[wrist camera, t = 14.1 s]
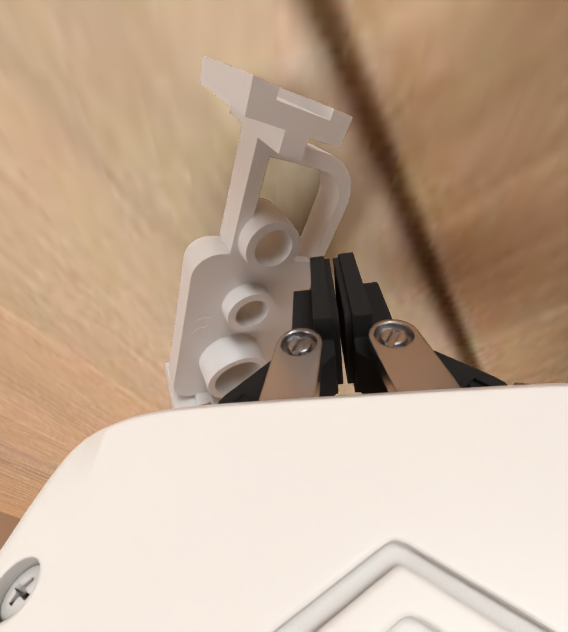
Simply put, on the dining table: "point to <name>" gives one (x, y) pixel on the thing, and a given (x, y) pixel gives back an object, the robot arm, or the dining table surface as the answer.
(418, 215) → the dining table surface
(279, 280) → the white plastic bracket
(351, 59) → the dining table surface
